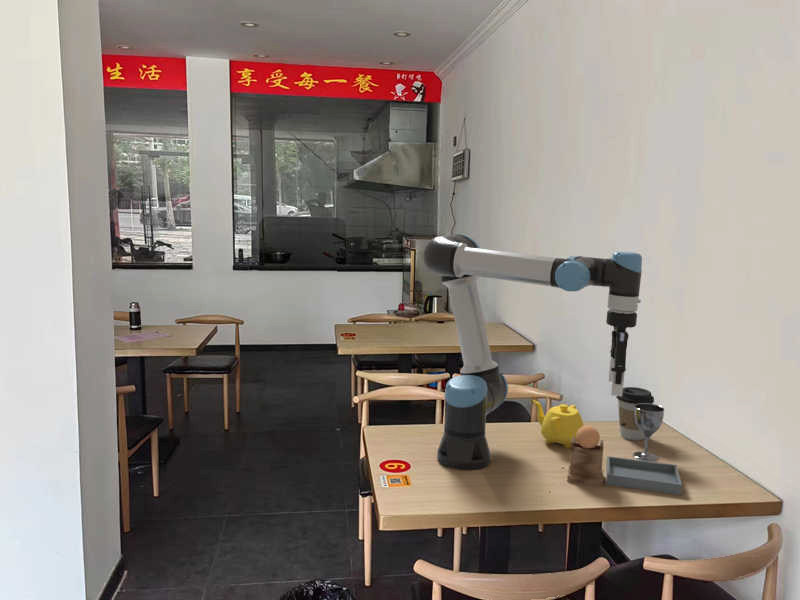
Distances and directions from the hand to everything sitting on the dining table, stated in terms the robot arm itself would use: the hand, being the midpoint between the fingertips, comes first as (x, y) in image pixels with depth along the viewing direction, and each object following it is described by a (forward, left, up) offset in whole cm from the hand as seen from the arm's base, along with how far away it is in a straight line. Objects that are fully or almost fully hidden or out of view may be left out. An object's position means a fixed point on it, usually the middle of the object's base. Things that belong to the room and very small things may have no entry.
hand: (614, 388), depth 168 cm
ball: (-6, -6, -15) cm, 18 cm away
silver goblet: (+10, +16, -24) cm, 31 cm away
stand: (-6, -6, -24) cm, 25 cm away
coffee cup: (+7, +32, -24) cm, 40 cm away
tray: (+8, -2, -24) cm, 25 cm away
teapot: (-16, +20, -24) cm, 35 cm away
